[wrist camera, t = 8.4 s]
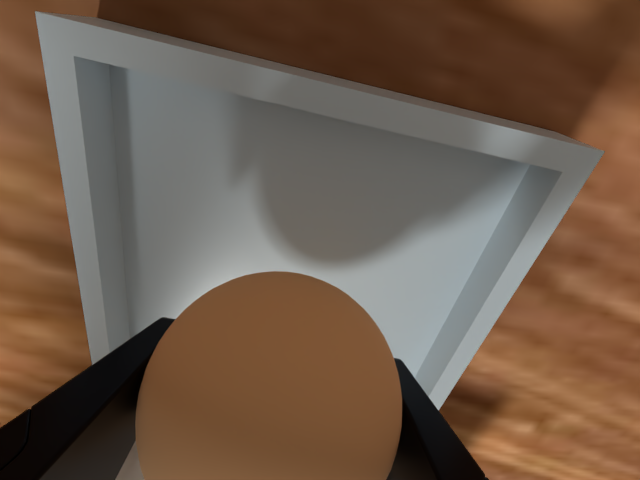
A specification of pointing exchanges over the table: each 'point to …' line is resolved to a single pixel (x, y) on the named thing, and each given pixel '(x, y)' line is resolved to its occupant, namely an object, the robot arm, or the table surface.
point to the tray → (292, 190)
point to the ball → (270, 387)
